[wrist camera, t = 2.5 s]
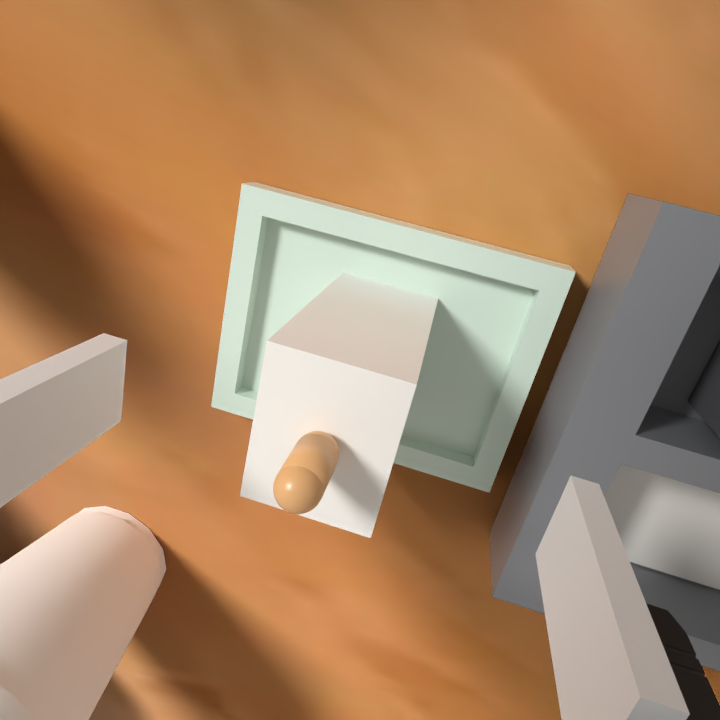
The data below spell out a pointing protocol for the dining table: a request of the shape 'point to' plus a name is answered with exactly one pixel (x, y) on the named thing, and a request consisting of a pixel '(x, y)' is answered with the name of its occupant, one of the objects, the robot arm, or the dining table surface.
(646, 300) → the grey desk organizer
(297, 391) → the white block with knob
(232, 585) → the dining table surface
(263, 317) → the tray
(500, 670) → the dining table surface
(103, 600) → the foam cup
